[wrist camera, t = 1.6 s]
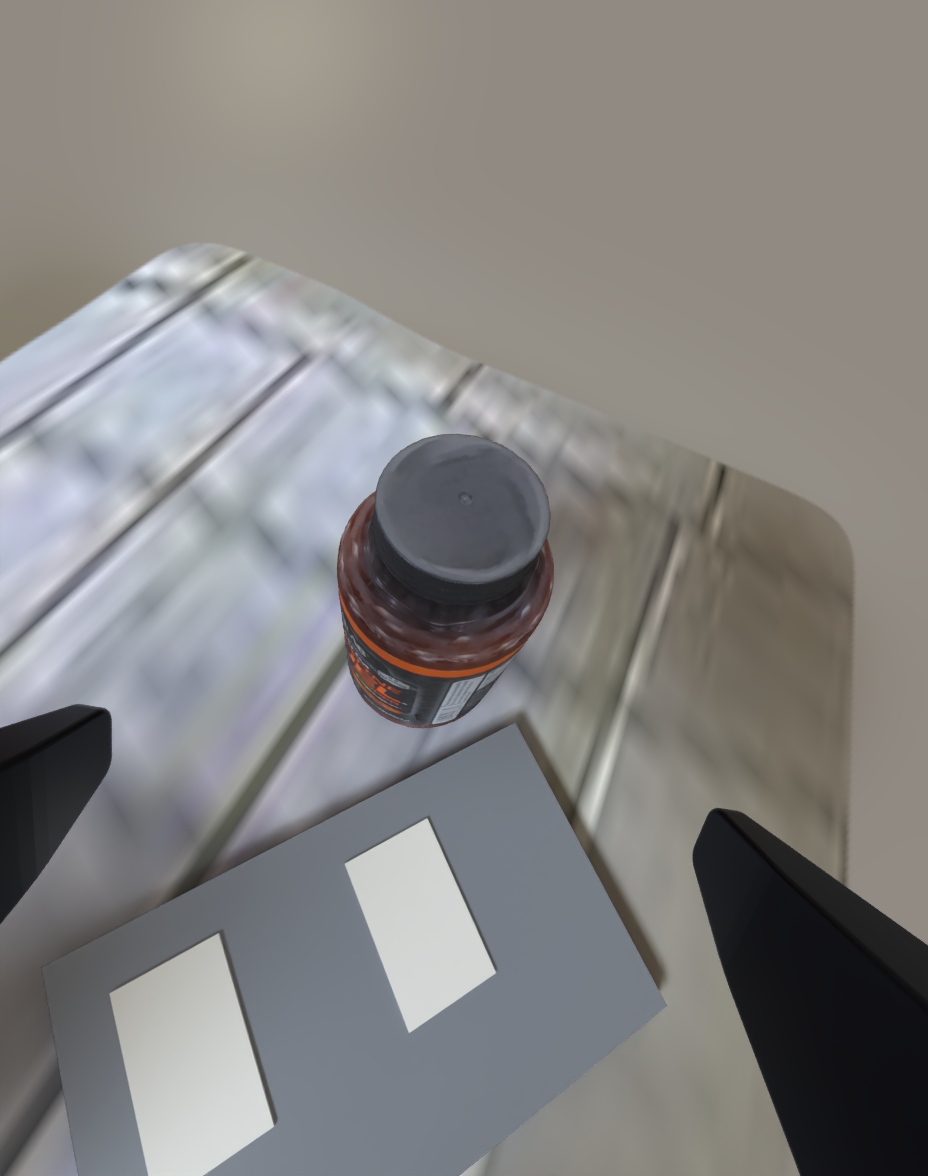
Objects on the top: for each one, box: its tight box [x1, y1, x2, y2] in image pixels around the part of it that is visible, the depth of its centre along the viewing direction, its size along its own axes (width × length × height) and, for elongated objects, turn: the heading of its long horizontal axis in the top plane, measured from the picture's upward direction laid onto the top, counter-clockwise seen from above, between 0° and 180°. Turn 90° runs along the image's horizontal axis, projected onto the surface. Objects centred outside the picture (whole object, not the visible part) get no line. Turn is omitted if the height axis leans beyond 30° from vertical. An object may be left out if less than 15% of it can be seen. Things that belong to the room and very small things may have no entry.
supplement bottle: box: [337, 434, 554, 728], centre depth 17 cm, size 6×6×11 cm
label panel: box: [41, 723, 667, 1176], centre depth 16 cm, size 10×16×1 cm, turn 117°
